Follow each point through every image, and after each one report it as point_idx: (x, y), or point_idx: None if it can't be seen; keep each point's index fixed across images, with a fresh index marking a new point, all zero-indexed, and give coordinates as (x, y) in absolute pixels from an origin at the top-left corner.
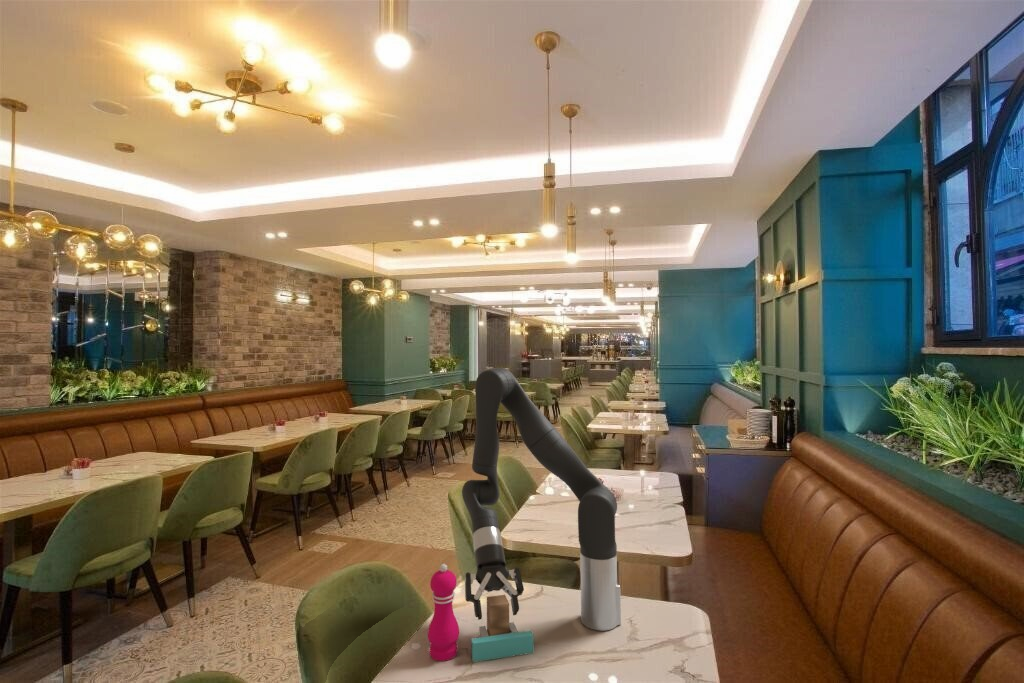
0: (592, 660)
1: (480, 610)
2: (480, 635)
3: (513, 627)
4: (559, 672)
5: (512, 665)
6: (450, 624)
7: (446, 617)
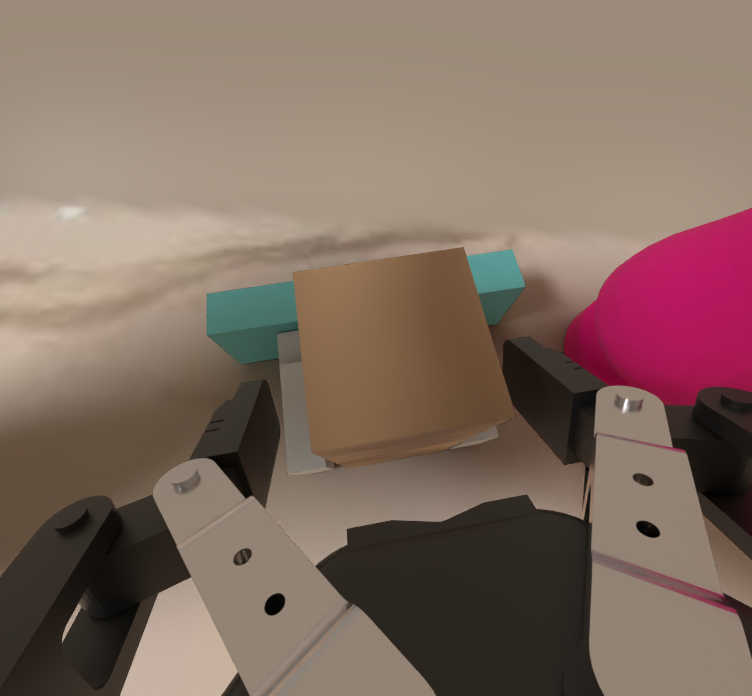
0: (31, 272)
1: (531, 349)
2: None
3: (297, 412)
4: (179, 222)
5: None
6: (695, 231)
7: None
